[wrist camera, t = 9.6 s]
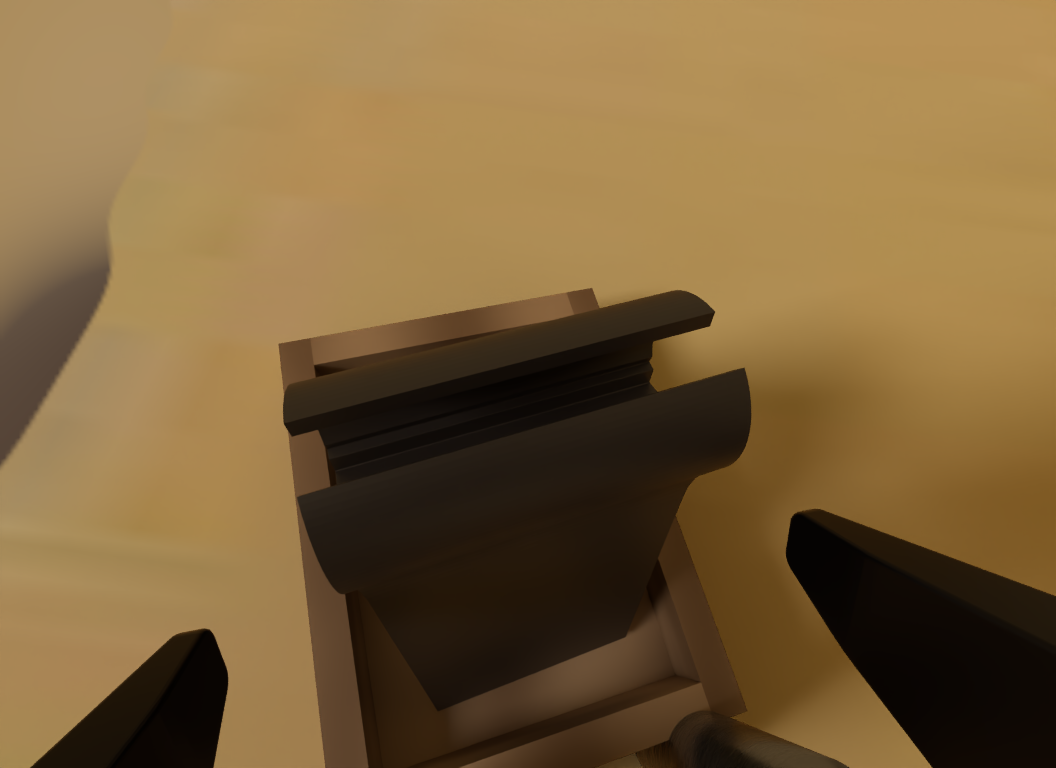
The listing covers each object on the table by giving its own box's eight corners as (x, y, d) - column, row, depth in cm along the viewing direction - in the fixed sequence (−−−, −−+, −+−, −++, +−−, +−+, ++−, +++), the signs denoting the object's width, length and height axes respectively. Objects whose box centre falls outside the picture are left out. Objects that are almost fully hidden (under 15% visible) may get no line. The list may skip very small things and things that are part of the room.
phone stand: (622, 638, 17) (911, 686, 6) (436, 710, 16) (365, 941, 5) (533, 386, 20) (614, 113, 9) (372, 429, 19) (239, 169, 8)
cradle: (370, 905, 14) (273, 1204, 7) (303, 380, 20) (211, 248, 13) (727, 765, 17) (930, 885, 9) (576, 327, 22) (629, 189, 15)
